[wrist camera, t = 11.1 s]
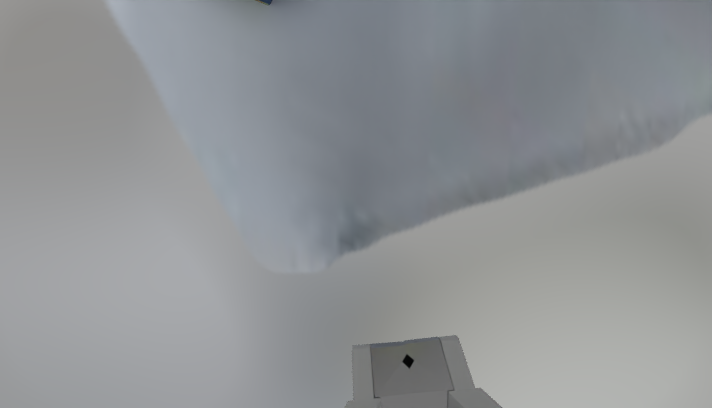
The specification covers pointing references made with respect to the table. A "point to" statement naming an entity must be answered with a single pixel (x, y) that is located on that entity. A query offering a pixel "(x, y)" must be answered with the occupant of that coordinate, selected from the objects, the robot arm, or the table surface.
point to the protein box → (265, 1)
